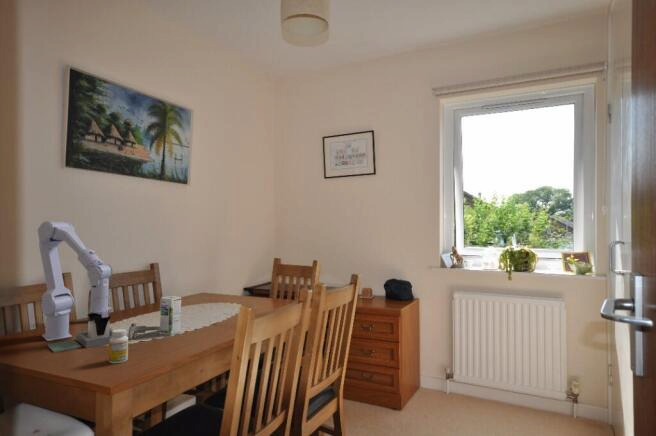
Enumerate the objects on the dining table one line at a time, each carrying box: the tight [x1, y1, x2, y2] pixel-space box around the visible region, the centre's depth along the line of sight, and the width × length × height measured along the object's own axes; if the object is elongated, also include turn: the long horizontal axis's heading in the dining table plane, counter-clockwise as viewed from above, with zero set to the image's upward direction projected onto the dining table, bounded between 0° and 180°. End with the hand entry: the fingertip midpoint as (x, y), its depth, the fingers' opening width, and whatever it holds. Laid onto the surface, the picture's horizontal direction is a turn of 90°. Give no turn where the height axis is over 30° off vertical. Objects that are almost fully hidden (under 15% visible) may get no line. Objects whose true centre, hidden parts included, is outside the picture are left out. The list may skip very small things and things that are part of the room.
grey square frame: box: [75, 328, 114, 349], centre depth 151 cm, size 13×11×2 cm
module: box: [87, 320, 111, 340], centre depth 151 cm, size 4×6×7 cm
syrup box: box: [159, 295, 182, 336], centre depth 163 cm, size 6×6×14 cm
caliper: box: [127, 322, 160, 341], centre depth 162 cm, size 20×1×6 cm, turn 156°
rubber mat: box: [47, 339, 82, 353], centre depth 143 cm, size 10×8×1 cm
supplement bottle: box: [108, 328, 129, 364], centre depth 130 cm, size 5×5×10 cm
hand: (98, 333), depth 151 cm, fingers closed on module, 4 cm apart
